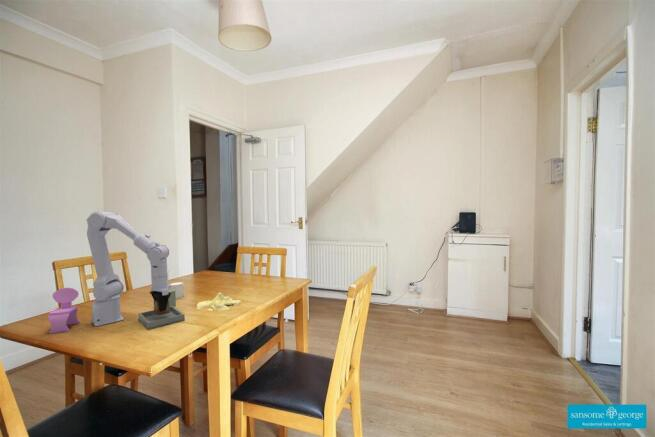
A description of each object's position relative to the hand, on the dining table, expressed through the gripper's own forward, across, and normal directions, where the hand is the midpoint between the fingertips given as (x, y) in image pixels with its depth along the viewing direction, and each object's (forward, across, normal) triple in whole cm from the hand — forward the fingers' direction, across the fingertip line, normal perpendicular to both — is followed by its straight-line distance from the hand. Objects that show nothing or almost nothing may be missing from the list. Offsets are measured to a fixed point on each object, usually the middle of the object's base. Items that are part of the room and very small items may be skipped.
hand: (161, 309), depth 127 cm
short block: (+2, 0, 0) cm, 2 cm away
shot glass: (+5, +28, -15) cm, 33 cm away
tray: (+4, 0, 0) cm, 4 cm away
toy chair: (+4, +18, +29) cm, 34 cm away
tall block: (+4, +16, -8) cm, 19 cm away
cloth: (+5, 0, -25) cm, 25 cm away
